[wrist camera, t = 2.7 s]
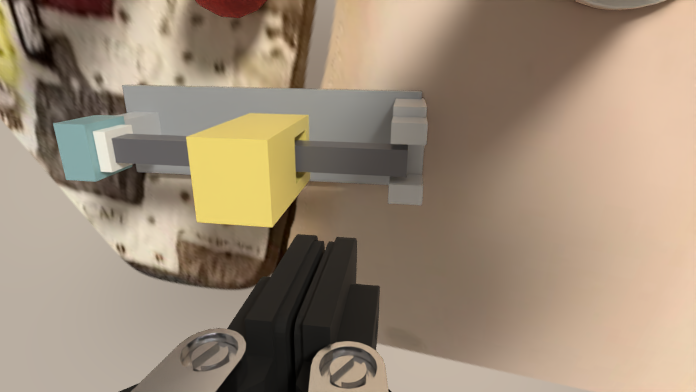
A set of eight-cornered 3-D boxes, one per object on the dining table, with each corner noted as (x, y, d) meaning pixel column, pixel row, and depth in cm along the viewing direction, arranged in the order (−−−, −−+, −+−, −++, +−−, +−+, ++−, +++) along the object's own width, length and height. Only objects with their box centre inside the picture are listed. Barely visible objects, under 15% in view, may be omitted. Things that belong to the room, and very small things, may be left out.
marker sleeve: (308, 114, 26) (267, 139, 19) (310, 179, 28) (272, 227, 20) (250, 113, 27) (186, 137, 19) (254, 176, 28) (196, 222, 21)
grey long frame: (424, 91, 29) (430, 104, 21) (418, 184, 31) (421, 227, 23) (127, 84, 32) (36, 94, 24) (141, 169, 34) (63, 203, 26)
